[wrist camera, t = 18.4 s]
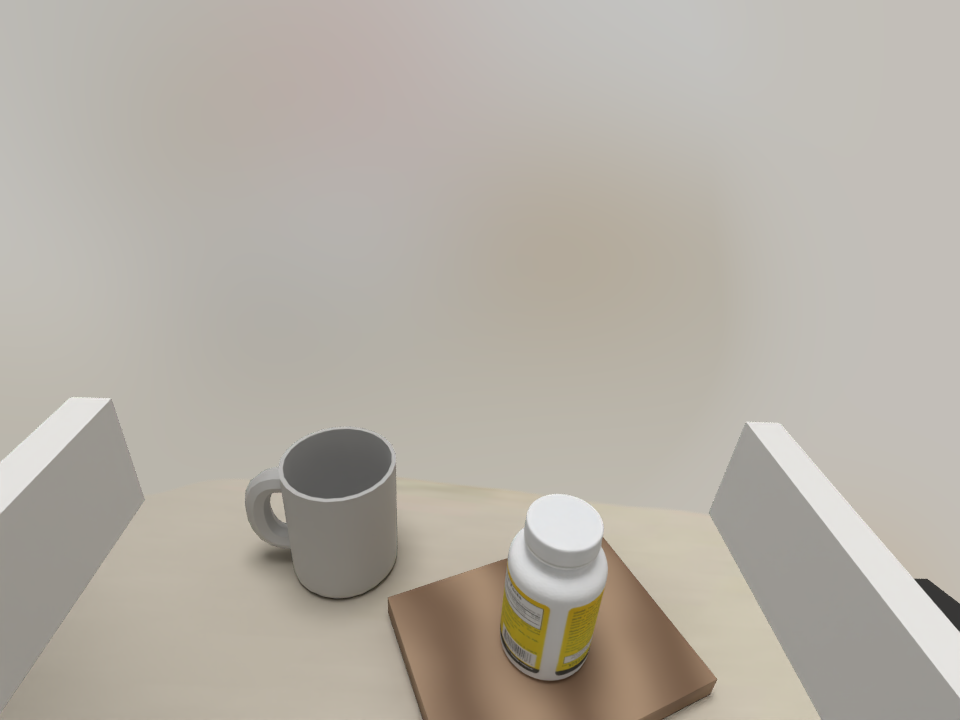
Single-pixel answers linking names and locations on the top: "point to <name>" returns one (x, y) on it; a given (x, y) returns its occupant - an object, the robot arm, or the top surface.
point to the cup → (332, 509)
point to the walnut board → (526, 700)
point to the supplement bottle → (553, 587)
